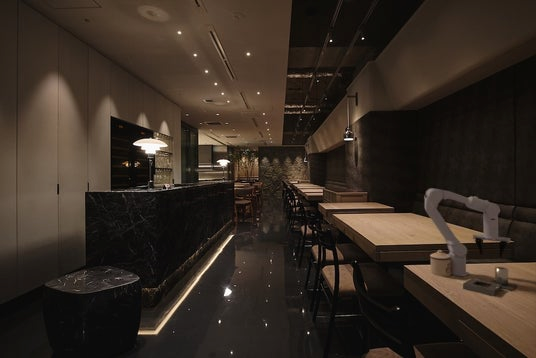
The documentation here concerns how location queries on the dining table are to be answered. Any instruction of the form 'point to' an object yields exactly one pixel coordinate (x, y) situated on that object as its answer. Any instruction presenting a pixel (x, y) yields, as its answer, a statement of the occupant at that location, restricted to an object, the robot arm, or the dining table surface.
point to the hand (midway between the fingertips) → (491, 255)
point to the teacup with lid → (440, 264)
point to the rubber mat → (509, 287)
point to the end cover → (501, 276)
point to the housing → (482, 287)
